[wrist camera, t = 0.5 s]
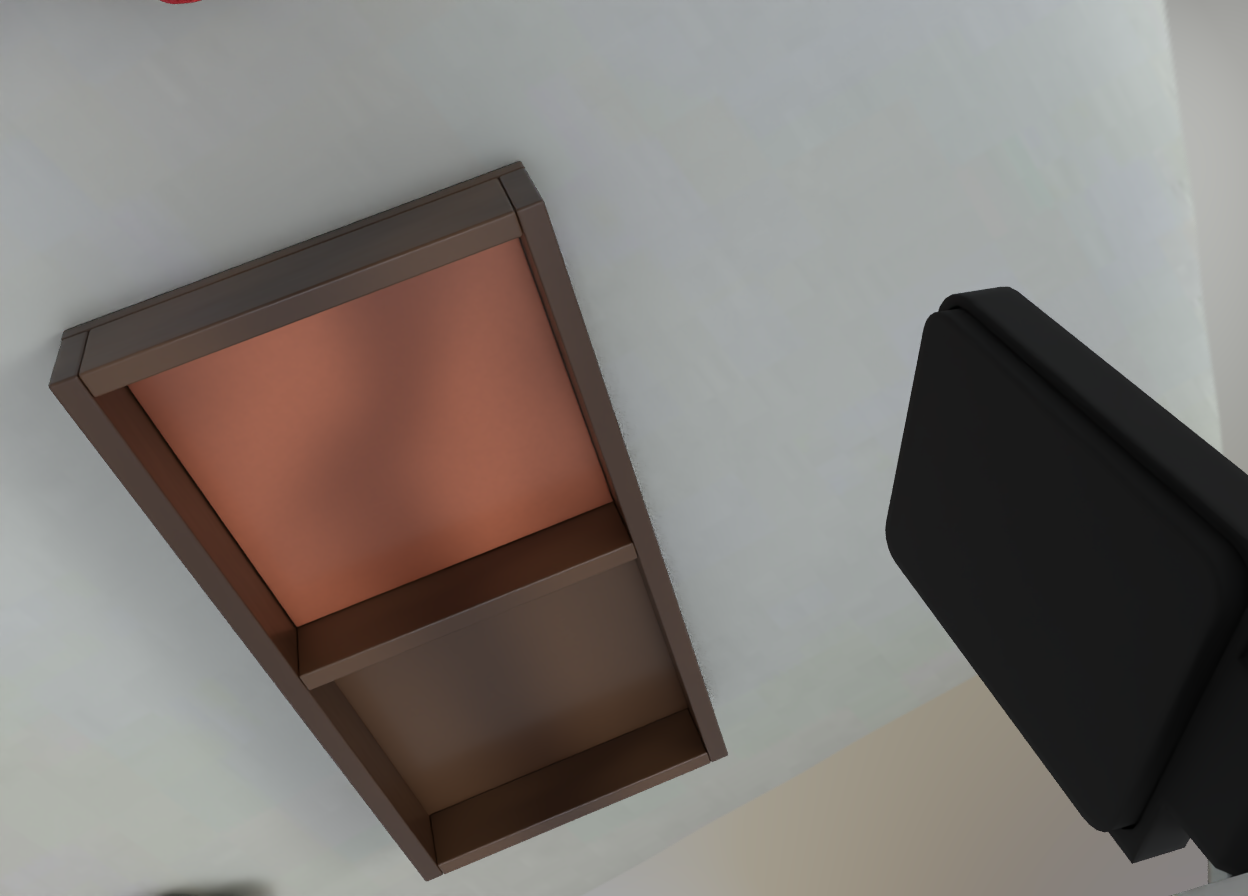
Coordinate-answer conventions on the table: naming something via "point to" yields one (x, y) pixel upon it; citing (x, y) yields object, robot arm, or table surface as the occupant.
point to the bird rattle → (179, 1)
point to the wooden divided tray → (413, 513)
